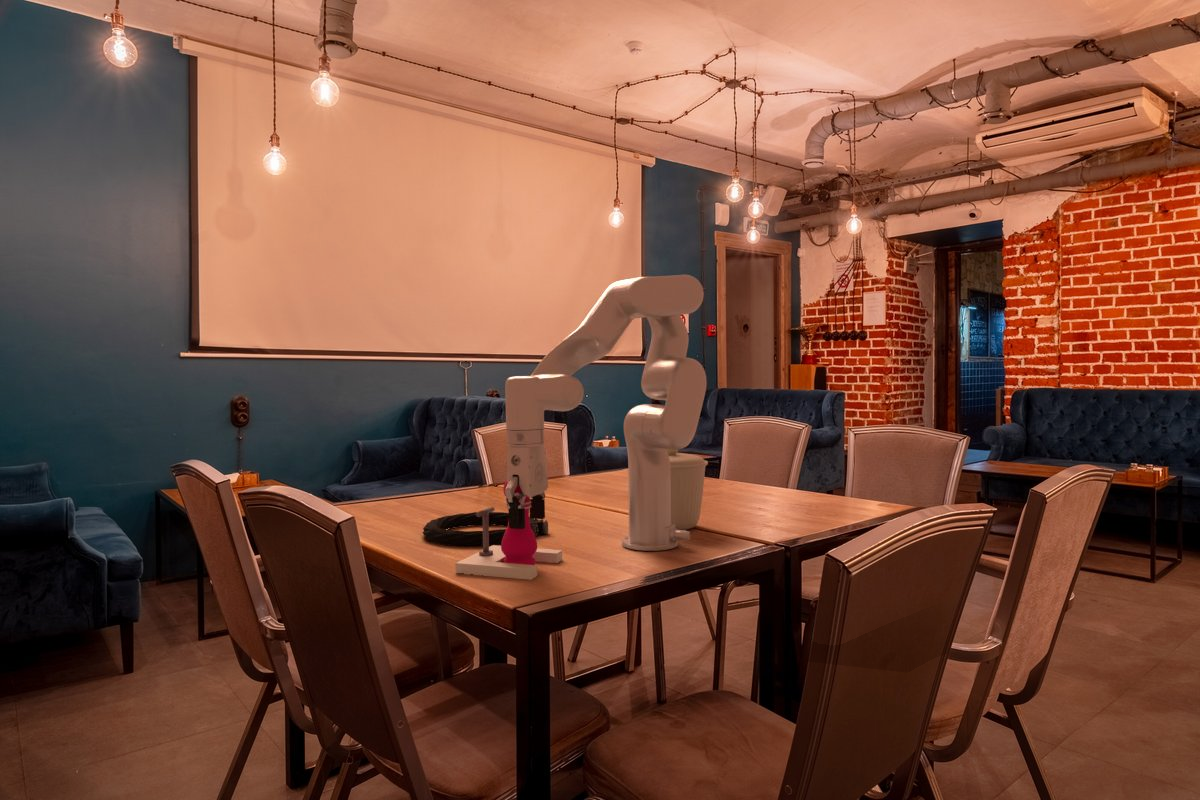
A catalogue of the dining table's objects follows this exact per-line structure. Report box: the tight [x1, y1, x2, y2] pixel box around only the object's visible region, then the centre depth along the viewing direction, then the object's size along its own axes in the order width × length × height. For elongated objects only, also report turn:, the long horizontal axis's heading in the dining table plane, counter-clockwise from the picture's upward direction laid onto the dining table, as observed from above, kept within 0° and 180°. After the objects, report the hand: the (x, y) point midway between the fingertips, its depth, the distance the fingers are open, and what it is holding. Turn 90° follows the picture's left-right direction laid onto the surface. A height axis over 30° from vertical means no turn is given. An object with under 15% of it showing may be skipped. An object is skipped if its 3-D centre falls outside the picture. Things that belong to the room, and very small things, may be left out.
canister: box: [666, 449, 709, 530], centre depth 190 cm, size 18×18×21 cm
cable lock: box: [422, 511, 549, 547], centre depth 184 cm, size 28×4×30 cm
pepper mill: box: [500, 480, 538, 565], centre depth 151 cm, size 7×7×20 cm
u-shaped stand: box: [455, 506, 563, 581], centre depth 153 cm, size 16×16×11 cm
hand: (527, 523), depth 152 cm, fingers open, 9 cm apart
